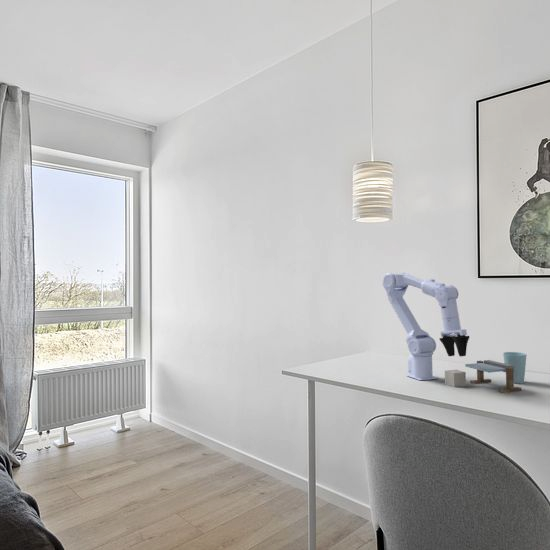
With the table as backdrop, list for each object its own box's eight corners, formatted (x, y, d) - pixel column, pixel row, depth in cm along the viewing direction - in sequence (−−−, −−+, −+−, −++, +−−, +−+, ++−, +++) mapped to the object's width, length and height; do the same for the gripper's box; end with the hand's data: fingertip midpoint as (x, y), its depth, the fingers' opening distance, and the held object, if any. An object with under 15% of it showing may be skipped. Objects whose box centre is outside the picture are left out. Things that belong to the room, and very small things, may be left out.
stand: (470, 382, 167) (469, 361, 167) (487, 380, 170) (487, 360, 170) (502, 392, 152) (501, 369, 153) (521, 390, 155) (520, 367, 155)
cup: (502, 382, 166) (501, 354, 166) (505, 378, 173) (504, 351, 173) (525, 385, 162) (525, 355, 162) (527, 381, 168) (527, 352, 169)
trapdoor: (465, 368, 165) (465, 362, 165) (489, 366, 168) (489, 360, 168) (488, 375, 153) (488, 367, 153) (514, 372, 156) (513, 365, 156)
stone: (445, 384, 166) (444, 370, 166) (456, 383, 168) (456, 369, 168) (454, 387, 162) (453, 373, 162) (465, 386, 163) (465, 372, 163)
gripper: (471, 315, 159) (478, 355, 157) (450, 318, 173) (456, 354, 171) (453, 317, 158) (459, 357, 156) (433, 320, 172) (439, 356, 170)
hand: (456, 356), depth 163 cm, fingers open, 7 cm apart
